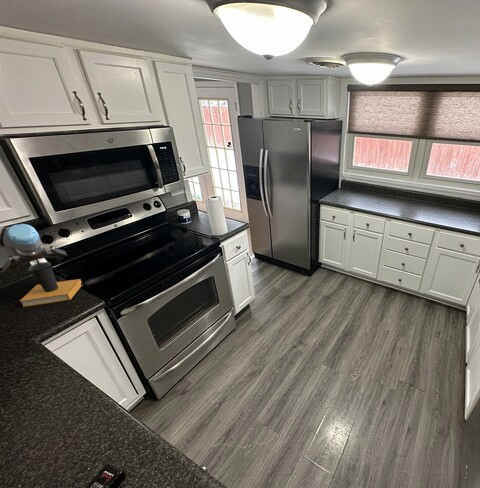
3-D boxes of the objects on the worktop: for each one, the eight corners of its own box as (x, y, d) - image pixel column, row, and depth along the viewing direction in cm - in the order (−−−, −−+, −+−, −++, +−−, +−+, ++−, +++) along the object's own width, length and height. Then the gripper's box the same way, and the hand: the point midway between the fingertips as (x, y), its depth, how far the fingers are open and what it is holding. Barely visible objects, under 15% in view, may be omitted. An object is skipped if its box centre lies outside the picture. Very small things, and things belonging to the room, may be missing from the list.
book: (23, 307, 125) (19, 301, 123) (39, 290, 137) (36, 284, 135) (70, 299, 131) (67, 293, 129) (82, 284, 142) (80, 279, 141)
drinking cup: (47, 295, 128) (28, 259, 119) (37, 291, 130) (18, 256, 121) (65, 286, 134) (49, 252, 125) (55, 283, 136) (38, 249, 128)
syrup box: (40, 285, 141) (28, 261, 134) (55, 280, 145) (44, 257, 139) (43, 289, 138) (31, 265, 131) (58, 284, 142) (47, 260, 136)
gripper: (-13, 267, 100) (3, 285, 115) (73, 246, 118) (77, 264, 133) (-21, 250, 101) (-4, 270, 116) (66, 232, 119) (70, 251, 134)
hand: (39, 267), depth 125 cm, fingers open, 13 cm apart
